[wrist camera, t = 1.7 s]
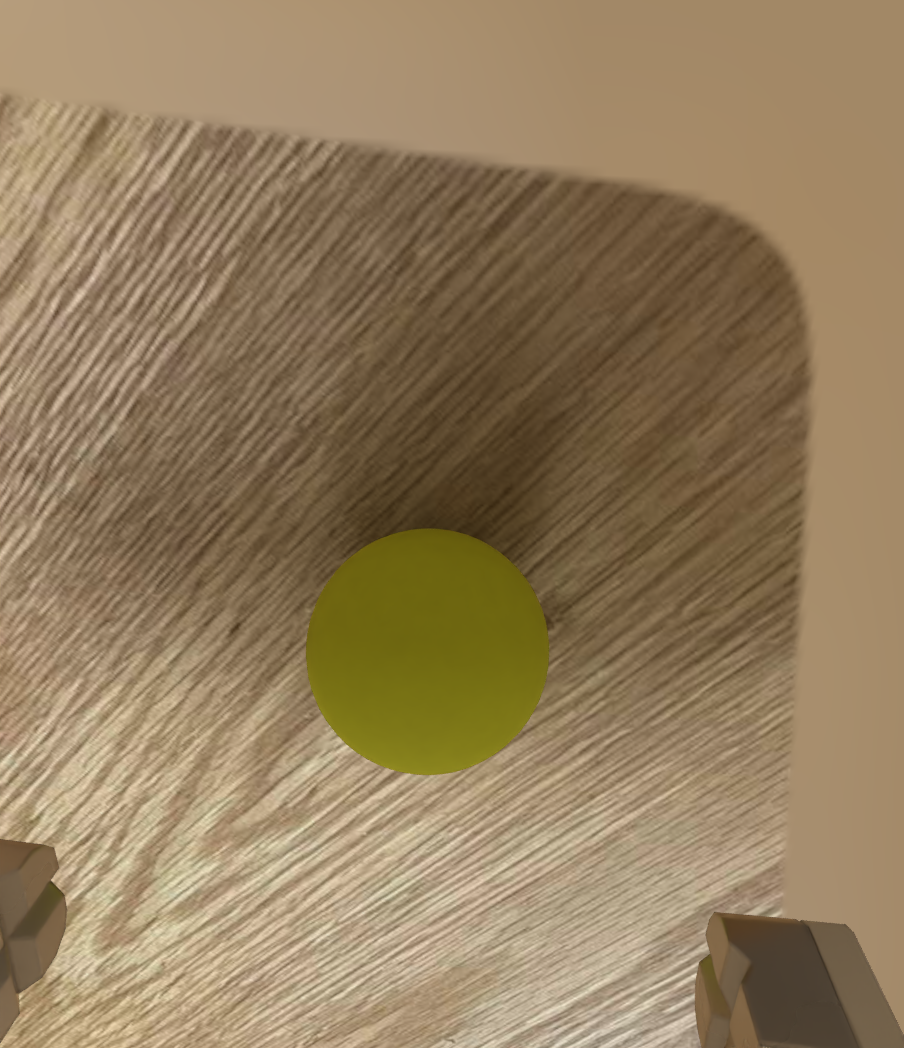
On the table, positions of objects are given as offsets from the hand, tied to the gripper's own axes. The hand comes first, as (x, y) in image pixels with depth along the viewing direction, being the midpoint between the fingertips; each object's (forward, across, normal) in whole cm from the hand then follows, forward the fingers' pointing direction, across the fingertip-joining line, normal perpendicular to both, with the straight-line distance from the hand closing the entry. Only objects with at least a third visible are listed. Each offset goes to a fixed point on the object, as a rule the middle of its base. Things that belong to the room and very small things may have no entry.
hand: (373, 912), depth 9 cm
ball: (+6, 0, 0) cm, 6 cm away
